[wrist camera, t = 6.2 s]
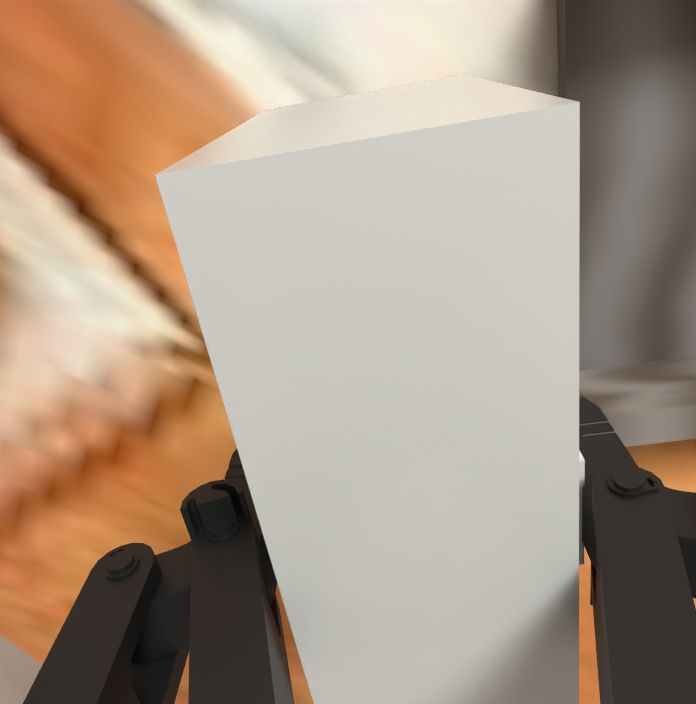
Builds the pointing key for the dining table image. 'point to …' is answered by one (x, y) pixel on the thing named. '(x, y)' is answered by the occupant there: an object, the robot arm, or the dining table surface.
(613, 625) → the robot arm
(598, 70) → the cradle rack
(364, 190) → the light grey block
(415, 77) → the dining table surface
